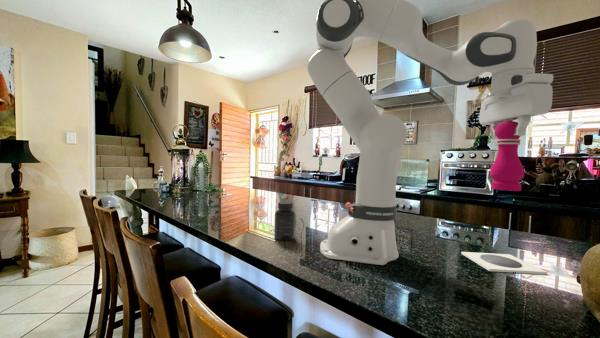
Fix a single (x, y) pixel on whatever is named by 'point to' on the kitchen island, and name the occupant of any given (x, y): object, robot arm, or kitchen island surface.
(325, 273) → the kitchen island surface
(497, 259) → the white coaster
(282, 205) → the supplement bottle
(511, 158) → the pepper mill
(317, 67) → the robot arm
